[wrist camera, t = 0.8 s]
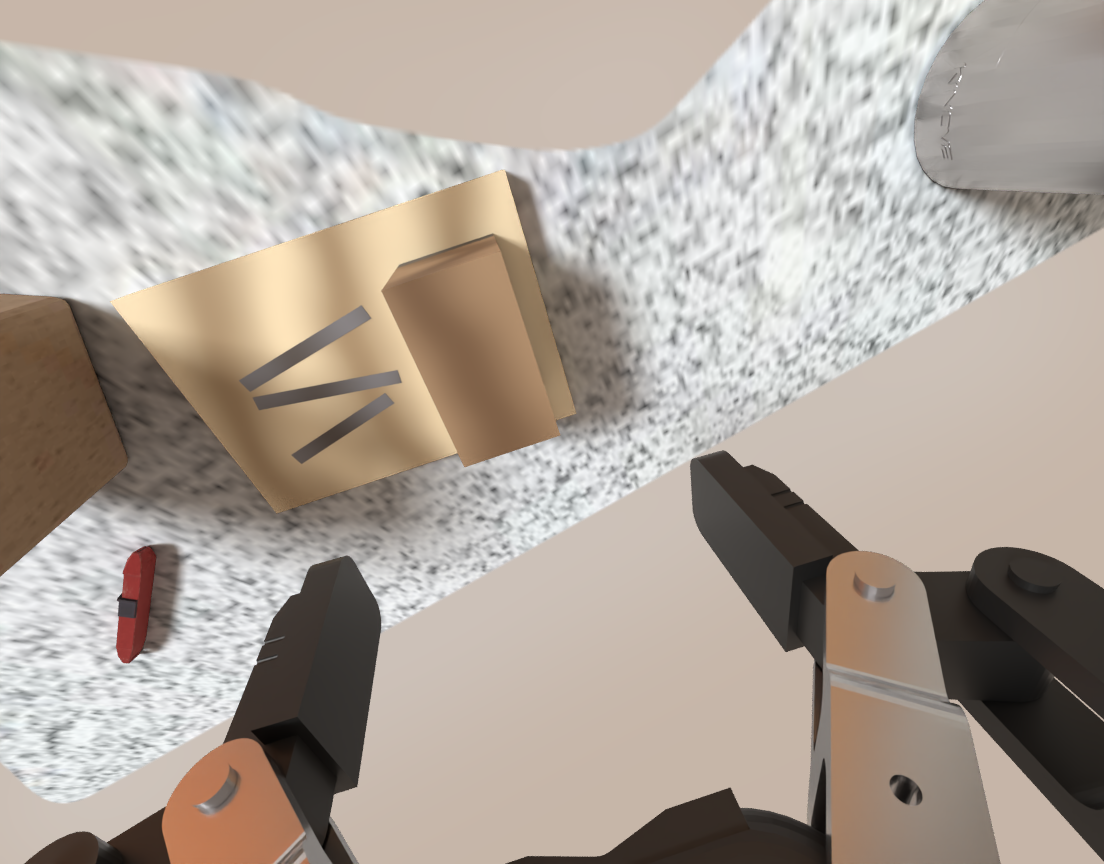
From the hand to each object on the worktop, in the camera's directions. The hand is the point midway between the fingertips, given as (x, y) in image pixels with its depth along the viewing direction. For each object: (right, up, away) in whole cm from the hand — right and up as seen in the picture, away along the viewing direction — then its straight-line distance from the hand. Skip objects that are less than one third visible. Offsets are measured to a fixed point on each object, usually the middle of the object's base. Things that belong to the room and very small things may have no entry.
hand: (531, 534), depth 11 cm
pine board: (-10, +7, +16) cm, 20 cm away
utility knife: (-28, -9, +22) cm, 37 cm away
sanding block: (-4, +8, +15) cm, 18 cm away
